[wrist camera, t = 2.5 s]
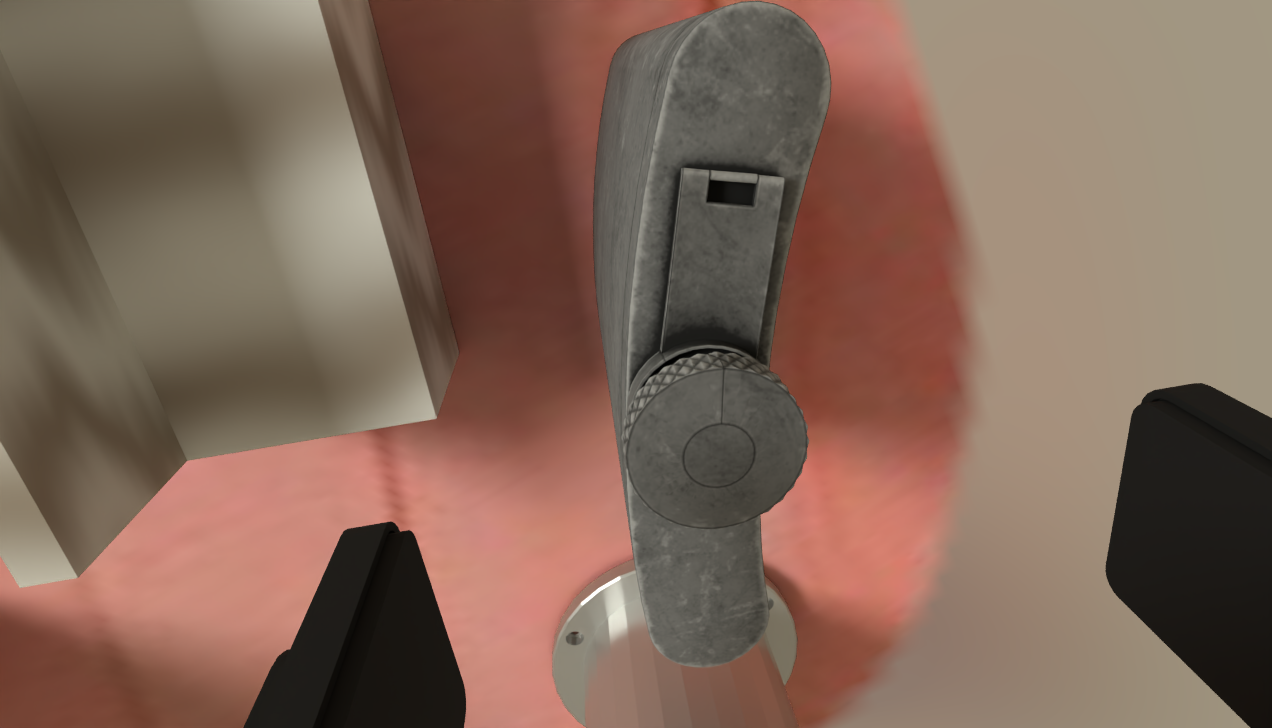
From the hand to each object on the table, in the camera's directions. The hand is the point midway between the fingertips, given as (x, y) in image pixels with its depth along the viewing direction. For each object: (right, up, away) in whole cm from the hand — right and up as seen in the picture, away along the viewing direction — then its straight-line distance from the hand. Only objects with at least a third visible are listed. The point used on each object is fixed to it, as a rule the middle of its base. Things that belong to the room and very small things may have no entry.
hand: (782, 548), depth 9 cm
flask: (-2, +8, +20) cm, 21 cm away
